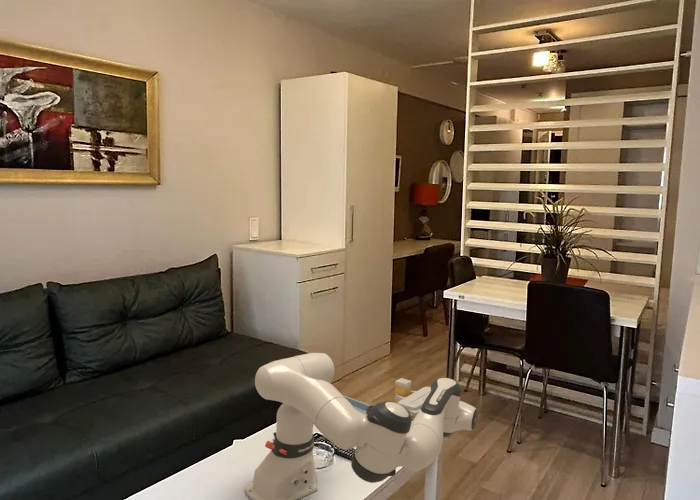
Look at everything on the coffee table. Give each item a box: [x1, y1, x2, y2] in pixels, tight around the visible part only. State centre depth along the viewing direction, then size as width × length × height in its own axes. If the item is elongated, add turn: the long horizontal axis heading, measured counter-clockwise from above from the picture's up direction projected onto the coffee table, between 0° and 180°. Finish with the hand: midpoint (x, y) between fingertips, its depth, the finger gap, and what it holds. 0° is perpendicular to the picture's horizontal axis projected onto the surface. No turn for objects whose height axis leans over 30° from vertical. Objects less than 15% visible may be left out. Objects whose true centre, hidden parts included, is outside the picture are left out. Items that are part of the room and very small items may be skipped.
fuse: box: [394, 377, 412, 403], centre depth 190 cm, size 4×4×13 cm
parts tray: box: [343, 395, 373, 414], centre depth 203 cm, size 16×16×4 cm
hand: (400, 394), depth 191 cm, fingers closed on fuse, 4 cm apart
